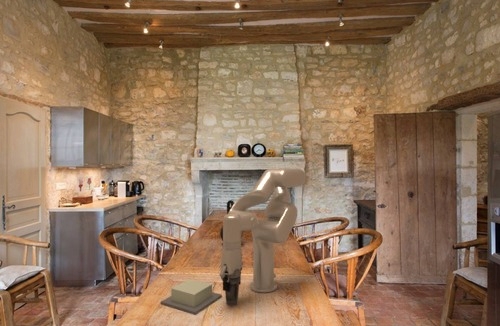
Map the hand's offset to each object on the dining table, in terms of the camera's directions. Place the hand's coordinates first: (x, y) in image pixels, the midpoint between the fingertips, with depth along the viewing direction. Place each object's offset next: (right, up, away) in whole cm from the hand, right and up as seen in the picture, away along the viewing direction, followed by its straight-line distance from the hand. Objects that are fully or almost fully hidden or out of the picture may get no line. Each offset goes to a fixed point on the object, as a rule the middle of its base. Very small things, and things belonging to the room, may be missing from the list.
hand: (231, 286), depth 134 cm
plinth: (-17, -7, +3) cm, 18 cm away
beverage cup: (0, -7, 0) cm, 7 cm away
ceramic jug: (-5, -5, +87) cm, 87 cm away
